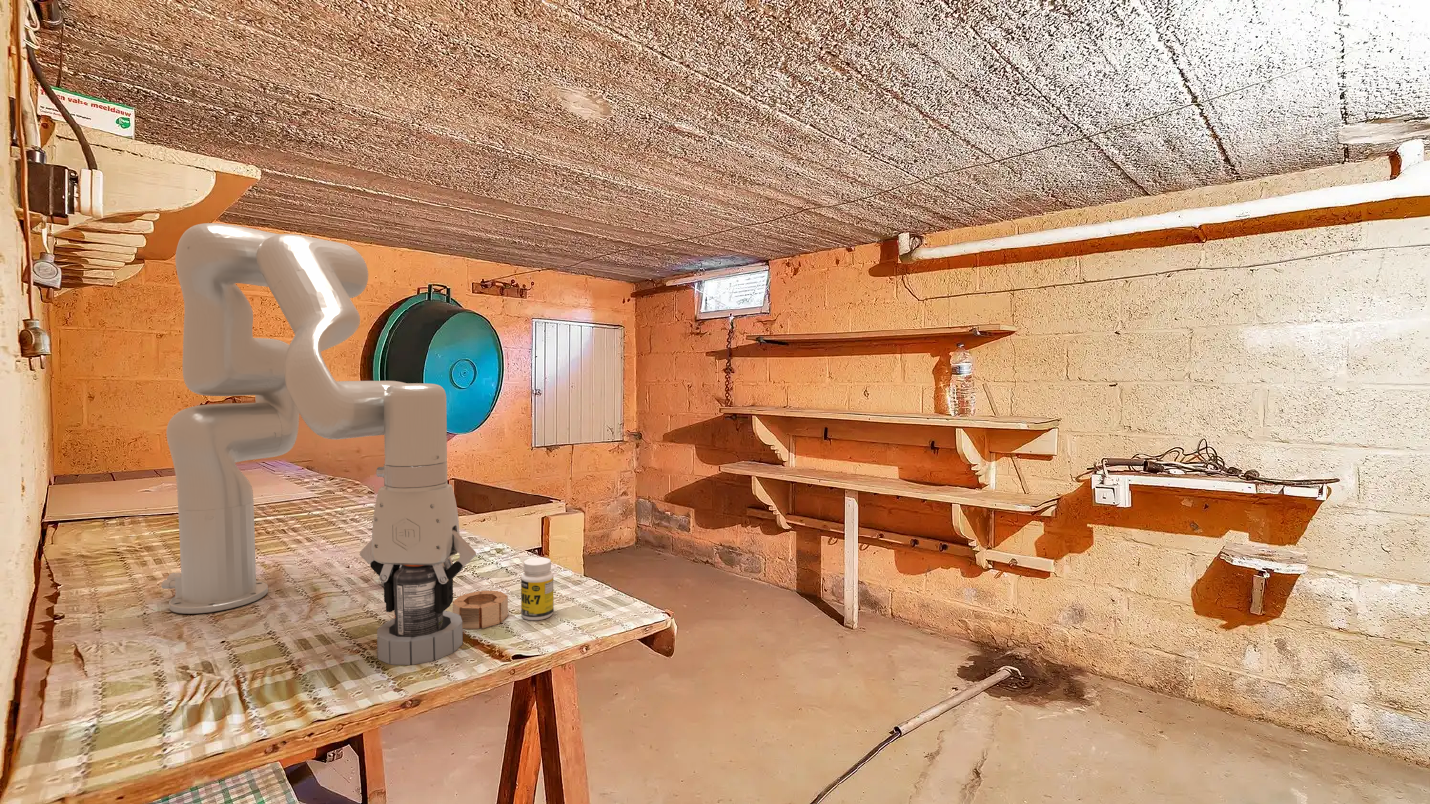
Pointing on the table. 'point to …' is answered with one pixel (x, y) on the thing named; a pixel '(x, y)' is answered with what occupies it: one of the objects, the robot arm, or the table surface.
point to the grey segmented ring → (419, 642)
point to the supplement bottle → (537, 589)
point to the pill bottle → (416, 601)
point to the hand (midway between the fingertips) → (418, 607)
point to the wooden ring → (481, 609)
